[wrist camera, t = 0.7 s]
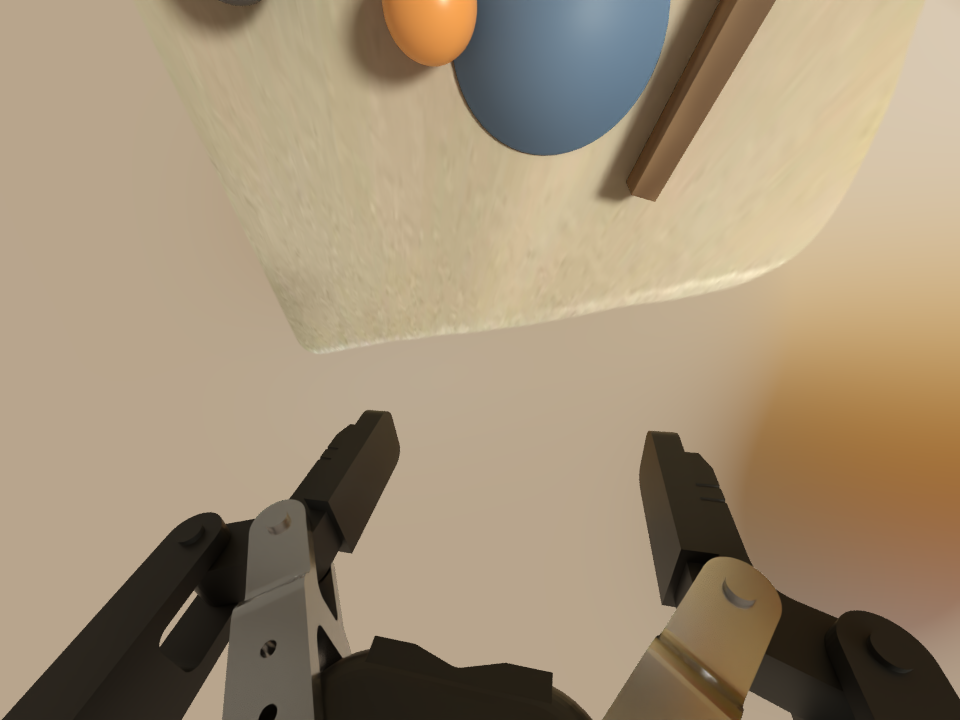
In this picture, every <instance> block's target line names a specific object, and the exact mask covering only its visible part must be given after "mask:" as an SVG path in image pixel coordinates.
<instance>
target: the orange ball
mask: <svg viewBox="0 0 960 720" xmlns="http://www.w3.org/2000/svg"><path fill="white" fill-rule="evenodd" d="M382 6H383V12H384V17H385V21H386V24H387V27H388V29H389V32H390V34H391V36H392V37H393V39H394V41H395V42H396V44H397V45H398V47H399V48H400V49H401V50H402V51H403V52H404V53H405V54H406V55H407V56H408V57H409V58H411V59H412V60H414V61H416V62H417V63H420V64H422V65H427V66H442V65H445V64H447V63H450V62H451V61H453V60H454V59H456V58H457V57H458V56H459V55H460V54H461V53H462V52H463V51H464V50H465V48H466V47H467V45H468V44H469V42H470V39H471V37H472V34H473V31H474V28H475V24H476V17H477V0H382Z"/></svg>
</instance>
